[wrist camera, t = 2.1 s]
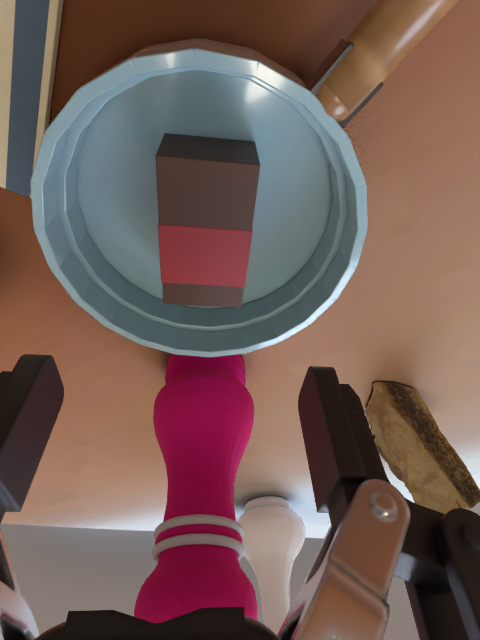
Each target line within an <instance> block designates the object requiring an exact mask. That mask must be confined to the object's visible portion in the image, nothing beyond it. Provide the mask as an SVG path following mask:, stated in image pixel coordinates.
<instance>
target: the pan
mask: <svg viewBox="0 0 480 640" xmlns="http://www.w3.org/2000/svg"><path fill="white" fill-rule="evenodd" d="M307 110H308V111H309V112H310V113H309V112H308V111H307ZM164 133H169V134H179V135H190V136H201V137H211V138H222V139H232V140H243V141H253V142H255V144H256V148H257V153H258V157H259V162H260V172H259V180H258V187H257V195H256V202H255V210H254V217H253V225H252V230H253V233H252V241H251V248H250V255H249V263H248V270H247V278H246V285H245V287H244V292H243V300H242V307H241V308H234V307H215V306H195V305H175V304H164V303H163V287H162V282H161V270H160V253H159V236H158V222H159V215H158V196H157V178H156V160H155V156H156V153H157V151H158V148H159V146H160V143H161V141H162V138H163V136H164ZM30 181H31V182H30V187H31V201H32V216H33V228H34V231H35V234H36V236H37V239H38V241H39V244H40V246H41V249H42V251H43V254H44V256H45V259H46V261H47V264H48V266H49V268H50V270H51V271H52V273H53V274H54V275H55V277H56V278H57V279H58V281H59V282H60V283H61V285H62V286H63V287H64V289H65V290H66V291H67V292H68V294H69V295H70V296H71V298H72V299H73V300H74V302H76V304H78V305H79V306H80V307H81V308H83V309H84V310H85V311H86V312H88V313H89V314H90V315H91V316H92V317H94V318H95V319H96V320H97V321H99V322H100V323H101V324H102V325H103V326H105V327H106V328H108V329H110V330H112V331H114V332H116V333H118V334H120V335H122V336H124V337H126V338H128V339H130V340H132V341H134V342H136V343H138V344H140V345H143V346H147V347H150V348H154V349H157V350H161V351H165V352H168V353H172V354H176V355H188V356H200V357H217V356H226V355H235V354H244V353H248V352H252V351H255V350H258V349H261V348H264V347H267V346H270V345H273V344H276V343H279V342H281V341H283V340H285V339H286V338H288V337H290V336H291V335H293V334H295V333H297V332H298V331H300V330H302V329H304V328H305V327H307V326H309V325H310V324H311V323H312V322H313V321H315V320H316V319H317V318H318V317H319V316H320V315H321V314H322V313H323V312H324V311H325V310H326V309H327V308H328V307H329V306H331V305H332V304H333V303H334V302H335V301H336V299H337V298H338V297H339V295H340V294H341V292H342V290H343V289H344V287H345V286H346V284H347V282H348V281H349V279H350V278H351V276H352V274H353V273H354V271H355V270H356V267H357V265H358V262H359V258H360V254H361V251H362V247H363V244H364V240H365V237H366V233H367V230H368V212H367V184H366V180H365V177H364V175H363V172H362V170H361V167H360V164H359V162H358V159H357V156H356V154H355V151H354V148H353V146H352V143H351V140H350V138H349V136H348V134H347V133H346V132H345V131H344V129H343V128H342V127H341V126H340V125H339V123H338V122H337V121H336V120H335V119H334V118H332V117H330V116H329V115H328V114H326V112H325V111H324V108H323V106H322V104H321V102H320V101H319V100H318V98H317V97H316V96H315V95H314V94H313V93H312V92H311V91H310V90H309V89H308V88H307V87H306V85H305V84H304V82H303V81H302V80H301V79H300V78H299V77H298V76H297V75H296V74H294V73H293V72H291V71H289V70H288V69H286V68H284V67H283V66H281V65H279V64H278V63H276V62H274V61H273V60H271V59H269V58H268V57H266V56H264V55H263V54H261V53H259V52H258V51H256V50H254V49H251V48H248V47H243V46H238V45H234V44H229V43H224V42H219V41H214V40H209V39H204V38H200V39H198V38H194V39H188V40H182V41H175V42H169V43H163V44H157V45H151V46H148V47H144V48H142V49H141V50H139V51H137V52H136V53H134V54H132V55H131V56H129V57H127V58H125V59H124V60H122V61H120V62H119V63H117V64H115V65H113V66H112V67H110V68H108V69H107V70H105V71H103V72H102V73H100V74H99V75H97V76H96V77H95V78H93V79H92V80H90V81H89V82H87V83H86V84H84V85H83V86H81V87H80V88H79V89H78V90H77V91H76V92H75V93H74V94H73V96H72V97H71V98H70V100H69V101H68V102H67V103H66V105H65V106H64V107H63V109H62V110H61V111H60V113H59V114H58V115H57V116H56V118H55V119H54V120H53V122H52V123H51V124H50V125H49V127H48V128H47V129H46V131H45V133H44V135H43V138H42V141H41V145H40V148H39V152H38V155H37V159H36V162H35V166H34V169H33V173H32V176H31V180H30Z"/></svg>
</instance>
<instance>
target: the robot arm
mask: <svg viewBox="0 0 480 640" xmlns="http://www.w3.org/2000/svg"><path fill="white" fill-rule="evenodd" d="M63 397H64V387H63V384H62V381H61V378H60V375H59V372H58V369H57V367H56V364H55V361H54V358H53V357H52V356H51V355H31V354H24V355H22V356H21V357H20V358H19V360H18V362H17V364H16V365H15V367H14V369H13V371H12V372H7V371H3V372H1V373H0V523H1V521H2V518H3V516H4V514H5V512H20V511H21V509H22V506H23V504H24V501H25V498H26V496H27V493H28V491H29V488H30V486H31V483H32V480H33V478H34V475H35V473H36V470H37V468H38V465H39V462H40V460H41V457H42V455H43V452H44V449H45V447H46V444H47V442H48V439H49V437H50V434H51V431H52V429H53V426H54V424H55V421H56V419H57V416H58V413H59V411H60V408H61V406H62V402H63ZM298 410H299V416H300V421H301V427H302V432H303V438H304V443H305V448H306V454H307V459H308V464H309V470H310V475H311V480H312V486H313V491H314V497H315V502H316V507H317V513H329V516H330V521H331V526H330V528H329V530H328V532H327V534H326V536H325V539H324V541H323V543H322V545H321V547H320V549H319V551H318V554H317V556H316V558H315V560H314V562H313V564H312V566H311V568H310V571H309V573H308V575H307V577H306V579H305V581H304V584H303V585H302V587H301V589H300V591H299V593H298V594H297V597H296V598H295V600H294V601H293V603H292V605H291V607H290V609H289V611H288V613H287V615H286V618H285V620H284V622H283V624H282V626H281V628H280V630H279V632H278V635H276V634H275V633H274V632H273V631H272V630H271V629H269V628H268V627H267V626H265V625H264V624H262V623H261V622H259V621H257V620H255V619H253V618H251V617H248V616H245V615H244V607H210V608H200V609H198V610H195V611H192V612H189V613H186V614H184V615H181V616H178V617H175V618H172V619H170V620H167V621H164V622H161V623H152V622H149V621H146V620H143V619H139V618H136V617H133V616H130V615H127V614H124V613H121V612H117V611H115V610H98V611H69V612H68V616H67V620H66V622H64V623H61V624H59V625H57V626H55V627H53V628H51V629H49V630H47V631H46V632H44V633H42V634H41V635H40V634H39V632H38V628H37V625H36V622H35V619H34V617H33V614H32V612H31V610H30V607H29V605H28V603H27V602H26V600H25V599H24V597H23V595H22V593H21V590H20V588H19V584H18V581H17V578H16V575H15V572H14V569H13V566H12V563H11V559H10V556H9V553H8V550H7V547H6V544H5V541H4V538H3V535H2V532H1V529H0V640H383V637H384V634H385V630H386V627H387V623H388V619H389V605H388V603H387V596H388V591H389V588H390V585H391V581H392V578H393V576H395V577H398V578H400V579H403V580H404V581H405V585H406V589H407V592H408V596H409V600H410V604H411V608H412V611H413V615H414V619H415V622H416V626H417V630H418V634H419V638H420V640H480V516H479V515H478V514H476V513H474V512H472V511H470V510H467V509H463V508H455V509H452V510H450V511H449V512H447V513H446V514H444V513H441V512H438V511H435V510H432V509H429V508H427V507H424V506H421V505H418V504H415V503H413V502H411V501H409V500H407V499H406V498H404V497H403V495H402V494H401V493H400V492H399V490H397V489H396V488H395V487H394V486H393V485H391V483H390V482H389V480H388V478H387V476H386V473H385V470H384V468H383V465H382V462H381V459H380V456H379V453H378V450H377V447H376V444H375V441H374V439H373V436H372V433H371V430H370V428H369V424H368V421H367V418H366V416H365V415H364V413H365V412H364V409H363V407H362V404H361V401H360V398H359V397H358V395H357V394H356V393H355V392H354V390H353V389H352V388H351V386H350V385H349V384H339V381H338V378H337V375H336V371H335V369H334V368H333V367H315V366H310V367H309V368H308V371H307V373H306V376H305V379H304V382H303V385H302V388H301V391H300V394H299V399H298Z"/></svg>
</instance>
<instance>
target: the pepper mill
mask: <svg viewBox="0 0 480 640" xmlns="http://www.w3.org/2000/svg"><path fill="white" fill-rule="evenodd" d="M165 382H166V385H165V386H164V387H163V388H162V389H161V390H160V392H159V393H158V395H157V397H156V400H155V404H154V416H153V420H154V428H155V434H156V437H157V440H158V443H159V446H160V448H161V451H162V454H163V457H164V461H165V464H166V469H167V476H168V494H167V505H166V510H165V515H164V521H163V523H161V524H160V525H159V526H158V527H157V528H156V529H155V532H154V537H155V539H156V541H155V546H154V548H153V550H152V556H153V558H154V560H156V561H157V562H158V564H157V566H156V568H155V569H154V571H153V572H152V573H151V574H150V576H149V577H148V578H147V579H146V581H145V582H144V584H143V585H142V587H141V589H140V592H139V594H138V597H137V600H136V605H135V610H134V617H136V618H139V619H143V620H146V621H149V622H152V623H161V622H164V621H167V620H170V619H172V618H175V617H178V616H181V615H184V614H186V613H189V612H192V611H195V610H198V609H200V608H210V607H244V615H245V616H248V617H251V618H253V619H255V620H257V602H256V595H255V591H254V588H253V585H252V583H251V582H250V580H249V579H248V577H247V576H246V574H245V573H244V572H243V570H242V569H241V567H240V565H239V562H238V560H240V559H241V558H242V557H243V556H244V553H245V548H244V546H243V545H242V538H243V536H244V529H243V527H242V526H241V525H240V524H239V523H238V522H236V518H235V511H234V482H235V478H236V473H237V469H238V466H239V463H240V460H241V457H242V455H243V453H244V450H245V448H246V446H247V443H248V441H249V438H250V434H251V430H252V427H253V418H254V404H253V400H252V397H251V395H250V393H249V392H248V390H247V389H246V387H245V386H244V385H245V365H244V360H243V358H242V357H241V355H240V354H235V355H226V356H217V357H200V356H188V355H176V354H171V356H170V357H169V359H168V362H167V369H166V376H165Z"/></svg>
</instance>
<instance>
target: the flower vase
mask: <svg viewBox="0 0 480 640" xmlns="http://www.w3.org/2000/svg"><path fill="white" fill-rule="evenodd" d="M237 522H238V523H239V524H240V525H241V526H242V527H243V529H244V536H243V538H242V545H243V546H244V548H245V553H244V557H245V558H246V559H247V560H248V561H249V562H250V564H251V566H252V568H253V570H254V572H255V575H256V578H257V580H258V583H259V588H260V593H261V600H262V607H263V617H264V625H265V626H267V627H268V628H269V629H271V630H272V631H273V632H274V633H275V634H276V635H278V632H279V630H280V628H281V626H282V624H283V622H284V620H285V618H286V615H287V613H288V611H289V609H290V598H289V583H290V575H291V570H292V565H293V562H294V560H295V558H296V556H297V555H298V553H299V552H300V550H301V548H302V546H303V543H304V540H305V534H306V528H305V525H304V522H303V520H302V519H301V517H300V516H299V515H298V514H297V513H296V512H294V511H293V510H292V509H290V504H289V502H288V501H287V500H286V499H284V498H281V497H274V496H267V497H259V498H256V499H253V500H251V501H249V502H248V503H247V504H246V505H245V513H243V514H242V515H241V516H240V518H239V519H238V521H237Z"/></svg>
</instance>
